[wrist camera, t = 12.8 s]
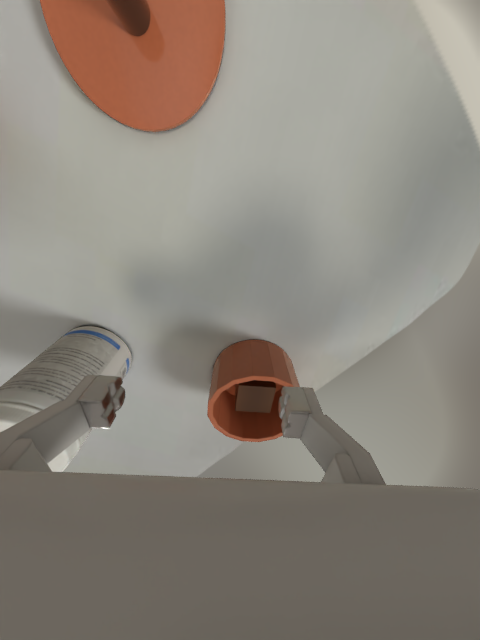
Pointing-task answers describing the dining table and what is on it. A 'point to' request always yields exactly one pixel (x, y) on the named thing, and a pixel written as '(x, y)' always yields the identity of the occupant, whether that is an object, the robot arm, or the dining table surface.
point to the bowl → (245, 366)
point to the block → (254, 396)
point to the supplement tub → (62, 378)
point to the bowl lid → (141, 55)
